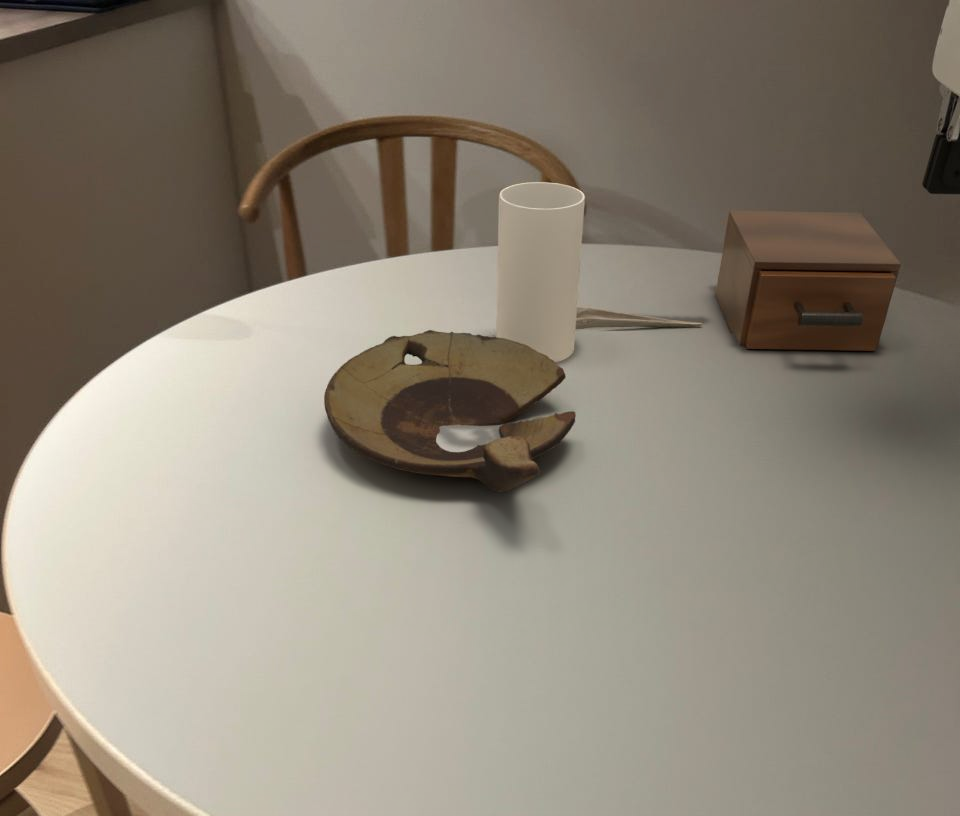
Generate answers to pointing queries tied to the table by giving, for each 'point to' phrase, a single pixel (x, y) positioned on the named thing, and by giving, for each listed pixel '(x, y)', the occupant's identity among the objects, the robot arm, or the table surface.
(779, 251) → the cabinet
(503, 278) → the cup
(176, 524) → the table surface
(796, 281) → the drawer
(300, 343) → the table surface
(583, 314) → the tweezers
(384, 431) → the broken ceramic dish
